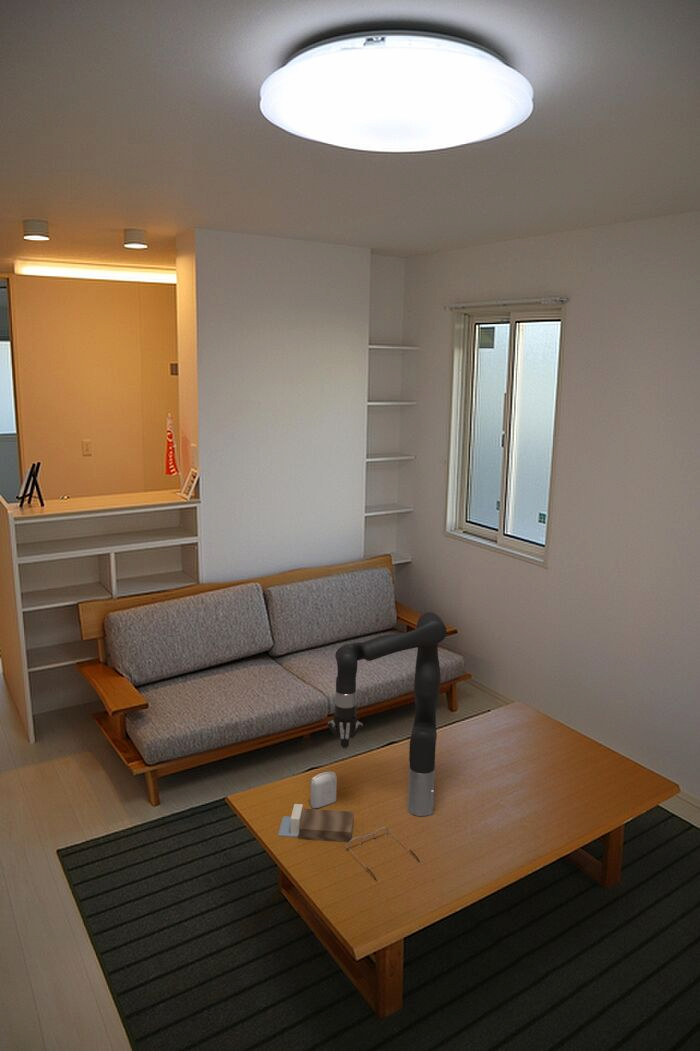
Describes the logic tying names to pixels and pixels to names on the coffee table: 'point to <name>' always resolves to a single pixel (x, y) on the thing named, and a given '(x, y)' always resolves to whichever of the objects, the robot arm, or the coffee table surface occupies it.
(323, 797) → the photo printer
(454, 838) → the coffee table surface
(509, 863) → the coffee table surface
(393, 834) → the eyeglasses
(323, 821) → the brown flat block
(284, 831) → the mat
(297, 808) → the cream rectangular block
